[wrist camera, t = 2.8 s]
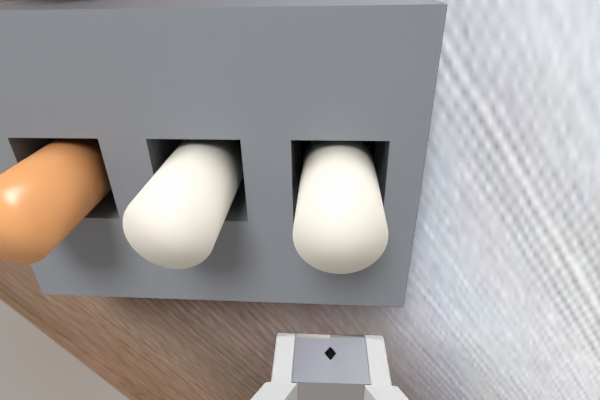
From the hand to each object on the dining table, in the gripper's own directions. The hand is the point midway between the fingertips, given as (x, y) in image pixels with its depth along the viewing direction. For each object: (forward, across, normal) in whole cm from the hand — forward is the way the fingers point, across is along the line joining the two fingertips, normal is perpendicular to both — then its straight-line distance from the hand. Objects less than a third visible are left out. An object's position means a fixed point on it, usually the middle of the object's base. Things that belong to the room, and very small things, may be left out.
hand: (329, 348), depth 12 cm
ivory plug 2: (+12, -1, 0) cm, 12 cm away
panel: (+16, +6, 0) cm, 17 cm away
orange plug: (+13, +13, 0) cm, 18 cm away
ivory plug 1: (+12, +6, 0) cm, 14 cm away
